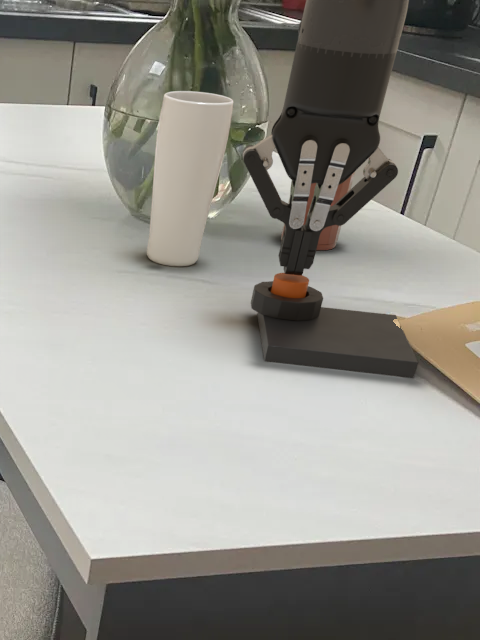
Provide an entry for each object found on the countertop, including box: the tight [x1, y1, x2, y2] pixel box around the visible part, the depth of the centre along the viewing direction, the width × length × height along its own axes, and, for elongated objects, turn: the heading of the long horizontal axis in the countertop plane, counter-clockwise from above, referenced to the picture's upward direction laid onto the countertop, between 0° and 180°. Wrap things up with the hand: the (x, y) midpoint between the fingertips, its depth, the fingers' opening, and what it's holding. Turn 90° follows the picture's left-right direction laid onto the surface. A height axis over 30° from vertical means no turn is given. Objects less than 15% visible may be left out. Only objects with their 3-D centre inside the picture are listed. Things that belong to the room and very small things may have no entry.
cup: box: [280, 171, 356, 251], centre depth 116 cm, size 6×6×10 cm
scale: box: [250, 280, 419, 379], centre depth 92 cm, size 13×13×3 cm
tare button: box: [271, 272, 310, 298], centre depth 94 cm, size 3×3×2 cm
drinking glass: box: [146, 90, 235, 267], centre depth 105 cm, size 7×7×15 cm
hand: (292, 272), depth 93 cm, fingers closed
